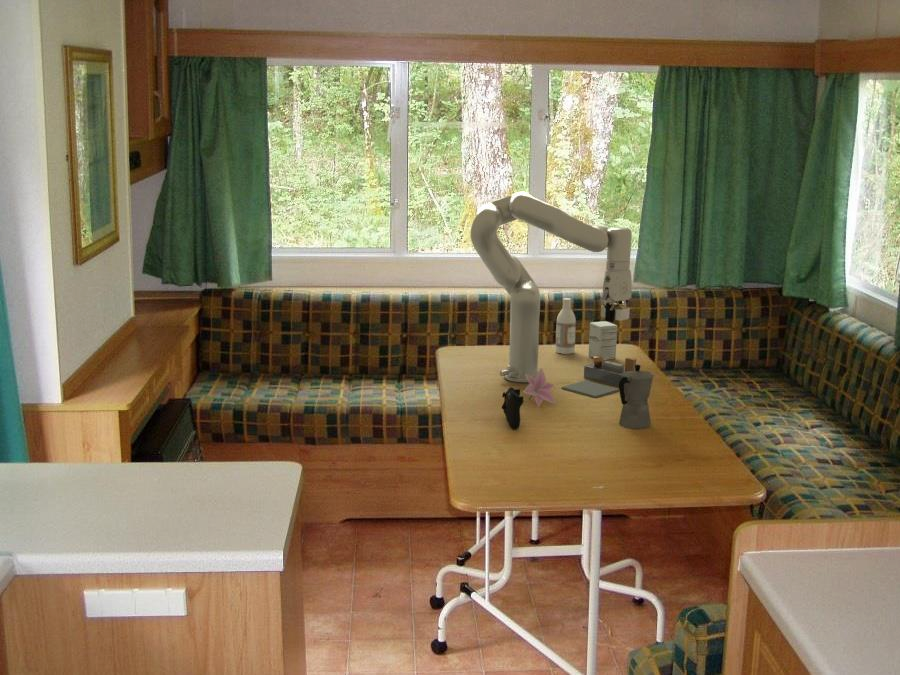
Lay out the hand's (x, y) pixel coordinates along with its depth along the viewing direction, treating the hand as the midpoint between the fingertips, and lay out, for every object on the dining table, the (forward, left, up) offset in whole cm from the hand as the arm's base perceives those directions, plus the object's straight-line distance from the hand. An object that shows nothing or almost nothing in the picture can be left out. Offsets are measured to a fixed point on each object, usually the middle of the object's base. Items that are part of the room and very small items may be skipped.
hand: (614, 319), depth 368 cm
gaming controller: (-59, -9, -21) cm, 63 cm away
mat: (-14, -2, -21) cm, 25 cm away
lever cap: (0, 0, +1) cm, 1 cm away
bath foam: (+18, +36, -21) cm, 45 cm away
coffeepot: (-34, -34, -21) cm, 52 cm away
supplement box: (+22, +22, -21) cm, 38 cm away
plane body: (0, 0, -21) cm, 21 cm away
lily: (-37, -1, -21) cm, 43 cm away
